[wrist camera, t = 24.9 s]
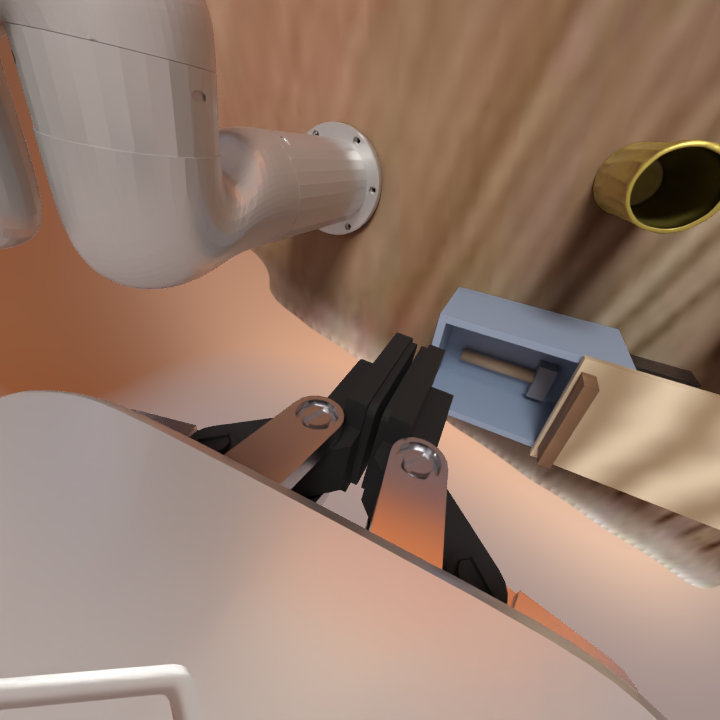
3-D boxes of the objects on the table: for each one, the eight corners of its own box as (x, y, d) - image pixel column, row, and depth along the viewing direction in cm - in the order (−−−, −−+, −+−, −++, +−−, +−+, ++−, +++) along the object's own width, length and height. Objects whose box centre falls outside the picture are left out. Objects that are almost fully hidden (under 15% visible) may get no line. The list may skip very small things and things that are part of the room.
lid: (530, 450, 38) (528, 471, 36) (584, 354, 31) (587, 372, 29) (735, 529, 33) (751, 561, 30) (854, 434, 26) (888, 464, 23)
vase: (666, 211, 32) (729, 237, 21) (588, 218, 35) (608, 245, 24) (682, 135, 30) (766, 119, 19) (597, 149, 33) (625, 142, 21)
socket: (586, 399, 43) (588, 412, 41) (616, 350, 39) (620, 362, 37) (652, 421, 41) (658, 436, 39) (691, 371, 37) (700, 385, 35)
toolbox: (436, 365, 50) (415, 402, 42) (459, 286, 44) (440, 313, 36) (569, 410, 45) (575, 463, 37) (618, 329, 38) (637, 372, 31)
